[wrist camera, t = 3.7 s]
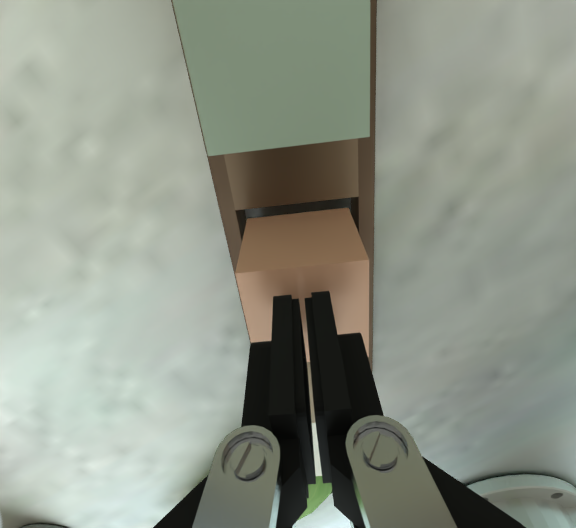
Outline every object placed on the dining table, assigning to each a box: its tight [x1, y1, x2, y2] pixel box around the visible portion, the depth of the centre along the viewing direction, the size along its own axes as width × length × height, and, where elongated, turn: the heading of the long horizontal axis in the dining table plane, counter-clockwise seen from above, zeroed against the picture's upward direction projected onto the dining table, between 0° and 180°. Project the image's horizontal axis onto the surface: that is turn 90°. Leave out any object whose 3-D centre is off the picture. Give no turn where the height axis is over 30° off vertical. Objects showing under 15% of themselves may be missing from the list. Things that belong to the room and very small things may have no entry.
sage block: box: [172, 0, 370, 156], centre depth 9 cm, size 4×4×4 cm
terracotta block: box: [235, 208, 369, 362], centre depth 13 cm, size 4×4×4 cm
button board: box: [171, 0, 377, 371], centre depth 16 cm, size 6×22×2 cm, turn 7°
